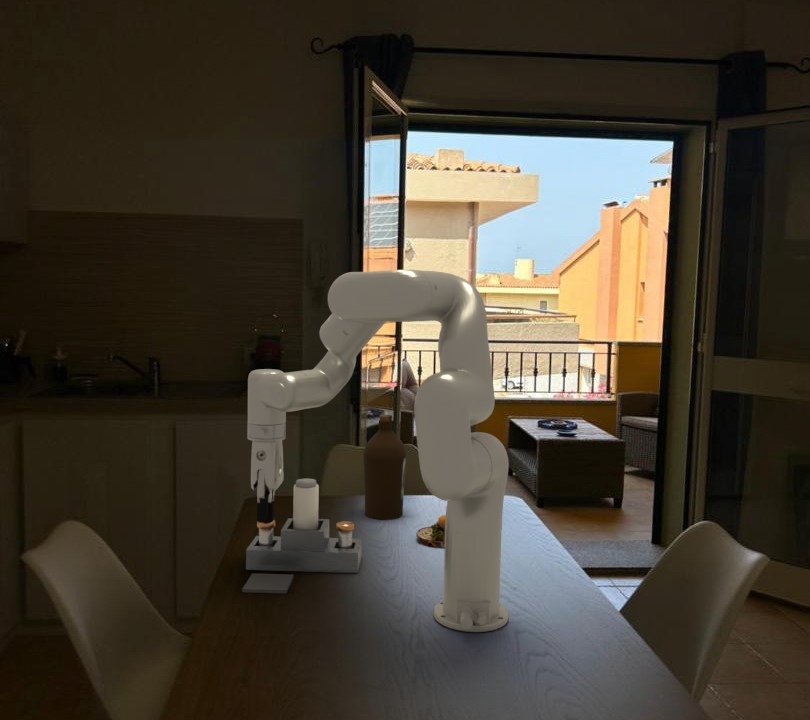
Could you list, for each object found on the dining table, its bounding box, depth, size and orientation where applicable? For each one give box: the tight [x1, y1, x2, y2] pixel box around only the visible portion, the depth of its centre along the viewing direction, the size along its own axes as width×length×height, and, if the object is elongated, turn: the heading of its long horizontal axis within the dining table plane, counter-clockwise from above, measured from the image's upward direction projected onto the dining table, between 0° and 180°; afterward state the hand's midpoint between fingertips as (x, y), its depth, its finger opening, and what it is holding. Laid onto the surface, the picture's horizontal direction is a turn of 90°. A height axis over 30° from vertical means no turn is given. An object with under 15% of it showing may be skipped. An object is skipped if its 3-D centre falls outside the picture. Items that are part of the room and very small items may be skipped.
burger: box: [415, 514, 446, 549], centre depth 172 cm, size 12×12×8 cm
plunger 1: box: [256, 519, 276, 546], centre depth 155 cm, size 4×4×8 cm
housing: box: [245, 517, 363, 574], centre depth 155 cm, size 22×9×8 cm, turn 89°
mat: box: [241, 572, 295, 595], centre depth 143 cm, size 8×8×1 cm
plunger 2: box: [335, 520, 355, 549], centre depth 155 cm, size 4×4×8 cm
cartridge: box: [292, 478, 320, 530], centre depth 154 cm, size 5×5×13 cm
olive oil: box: [363, 413, 407, 520], centre depth 191 cm, size 11×11×25 cm
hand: (265, 520), depth 155 cm, fingers closed
